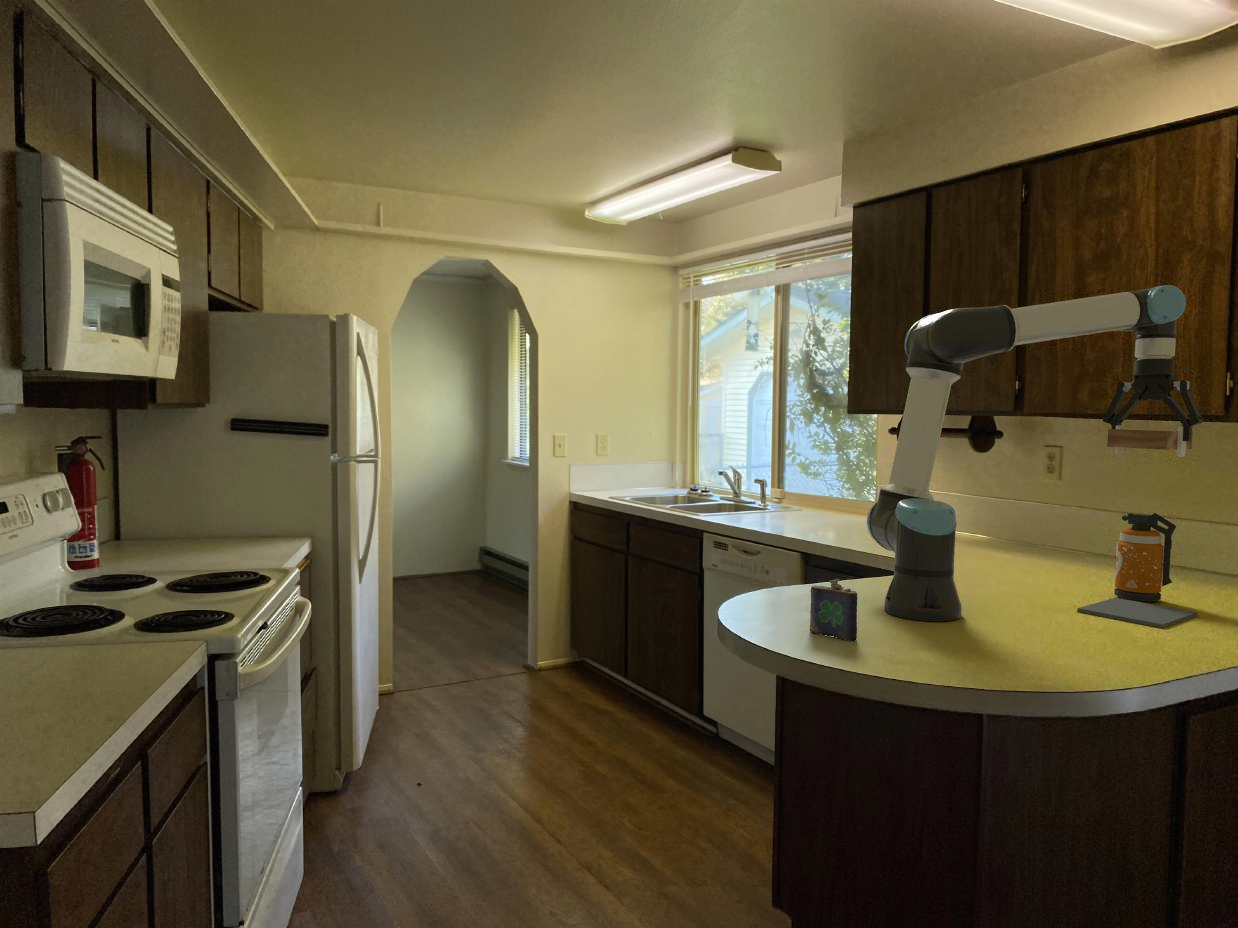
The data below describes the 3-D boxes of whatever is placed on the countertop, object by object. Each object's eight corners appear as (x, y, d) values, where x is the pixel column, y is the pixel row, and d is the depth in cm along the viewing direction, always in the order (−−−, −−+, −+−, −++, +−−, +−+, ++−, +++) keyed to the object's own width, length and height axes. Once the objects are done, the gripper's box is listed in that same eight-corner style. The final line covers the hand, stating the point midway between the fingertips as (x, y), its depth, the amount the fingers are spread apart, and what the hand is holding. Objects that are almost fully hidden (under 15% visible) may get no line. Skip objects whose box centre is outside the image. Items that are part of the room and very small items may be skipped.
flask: (807, 632, 152) (809, 576, 152) (814, 629, 154) (816, 574, 154) (852, 642, 146) (854, 584, 145) (860, 639, 148) (862, 581, 147)
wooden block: (1166, 449, 173) (1167, 431, 172) (1107, 446, 182) (1108, 429, 182) (1191, 448, 181) (1192, 431, 181) (1133, 446, 190) (1134, 429, 190)
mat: (1162, 628, 158) (1162, 624, 158) (1077, 611, 171) (1077, 608, 171) (1197, 615, 169) (1197, 611, 169) (1114, 601, 182) (1114, 597, 182)
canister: (1113, 593, 190) (1118, 509, 189) (1170, 599, 185) (1174, 512, 183) (1114, 600, 183) (1118, 512, 181) (1173, 606, 177) (1178, 516, 176)
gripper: (1224, 357, 173) (1218, 457, 174) (1104, 361, 192) (1099, 452, 194) (1211, 355, 168) (1205, 458, 170) (1089, 360, 188) (1084, 452, 189)
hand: (1148, 455), depth 182 cm, fingers closed on wooden block, 12 cm apart
